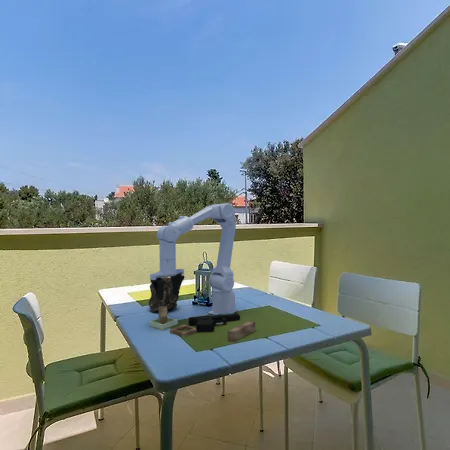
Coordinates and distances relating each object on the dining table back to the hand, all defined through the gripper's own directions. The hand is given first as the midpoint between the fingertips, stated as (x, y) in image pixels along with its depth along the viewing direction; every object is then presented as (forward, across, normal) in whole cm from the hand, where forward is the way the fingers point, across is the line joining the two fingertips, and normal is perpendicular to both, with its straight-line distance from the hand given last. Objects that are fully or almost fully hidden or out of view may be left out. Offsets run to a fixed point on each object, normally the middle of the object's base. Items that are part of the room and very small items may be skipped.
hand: (168, 297), depth 113 cm
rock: (+10, -13, -16) cm, 23 cm away
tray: (+10, +2, 0) cm, 10 cm away
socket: (+10, +3, +11) cm, 15 cm away
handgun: (+10, -10, +15) cm, 21 cm away
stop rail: (+10, -6, +28) cm, 30 cm away
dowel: (+9, +2, 0) cm, 9 cm away
